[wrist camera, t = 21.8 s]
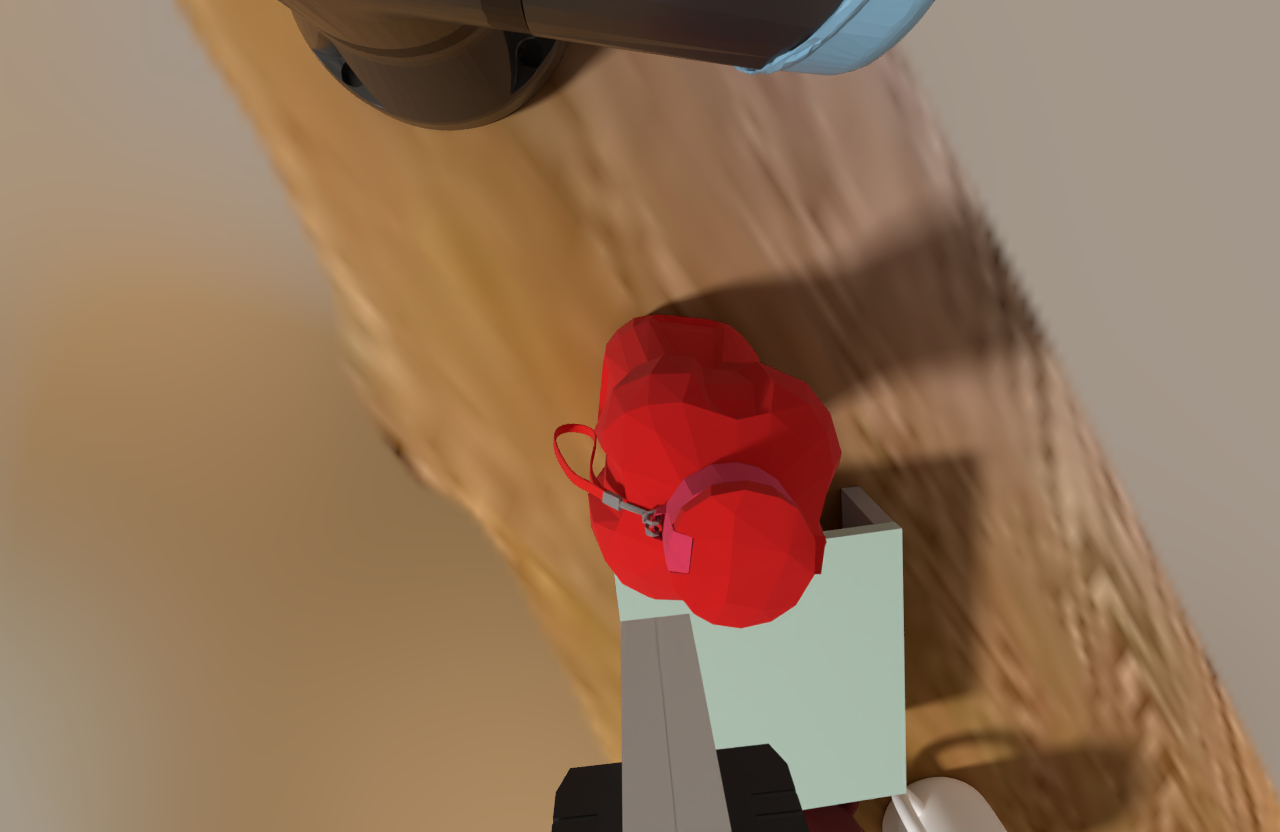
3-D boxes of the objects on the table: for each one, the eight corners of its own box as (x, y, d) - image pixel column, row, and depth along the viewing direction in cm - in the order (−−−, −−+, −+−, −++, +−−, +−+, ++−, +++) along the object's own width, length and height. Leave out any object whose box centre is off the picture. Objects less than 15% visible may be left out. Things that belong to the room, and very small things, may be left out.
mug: (830, 732, 45) (930, 842, 46) (782, 699, 53) (868, 792, 53) (719, 862, 43) (825, 976, 43) (686, 806, 51) (777, 903, 51)
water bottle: (580, 303, 42) (529, 383, 18) (756, 322, 43) (937, 423, 19) (567, 447, 44) (507, 692, 20) (735, 463, 45) (873, 719, 21)
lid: (612, 560, 39) (613, 567, 38) (894, 521, 40) (902, 528, 39) (646, 821, 43) (647, 834, 42) (899, 781, 44) (906, 793, 43)
